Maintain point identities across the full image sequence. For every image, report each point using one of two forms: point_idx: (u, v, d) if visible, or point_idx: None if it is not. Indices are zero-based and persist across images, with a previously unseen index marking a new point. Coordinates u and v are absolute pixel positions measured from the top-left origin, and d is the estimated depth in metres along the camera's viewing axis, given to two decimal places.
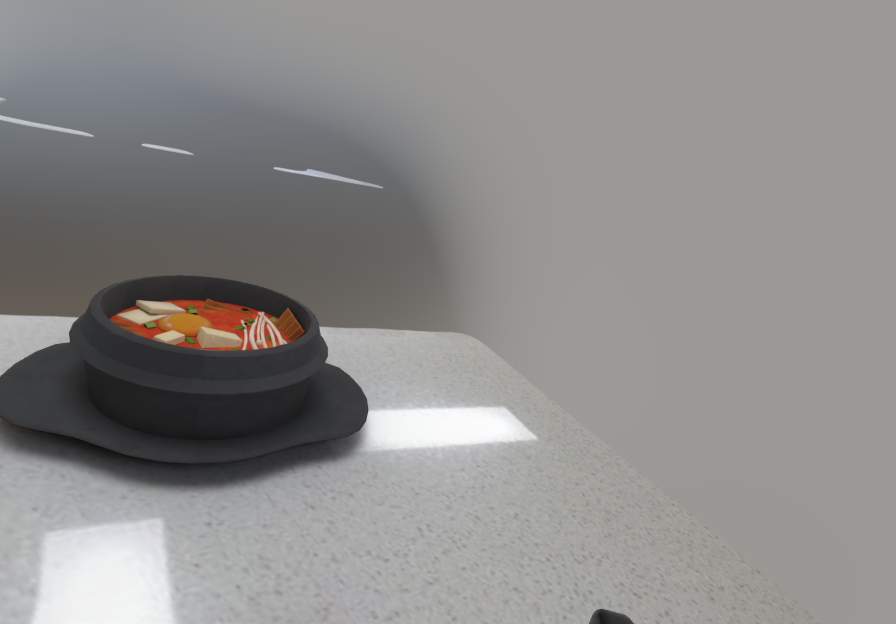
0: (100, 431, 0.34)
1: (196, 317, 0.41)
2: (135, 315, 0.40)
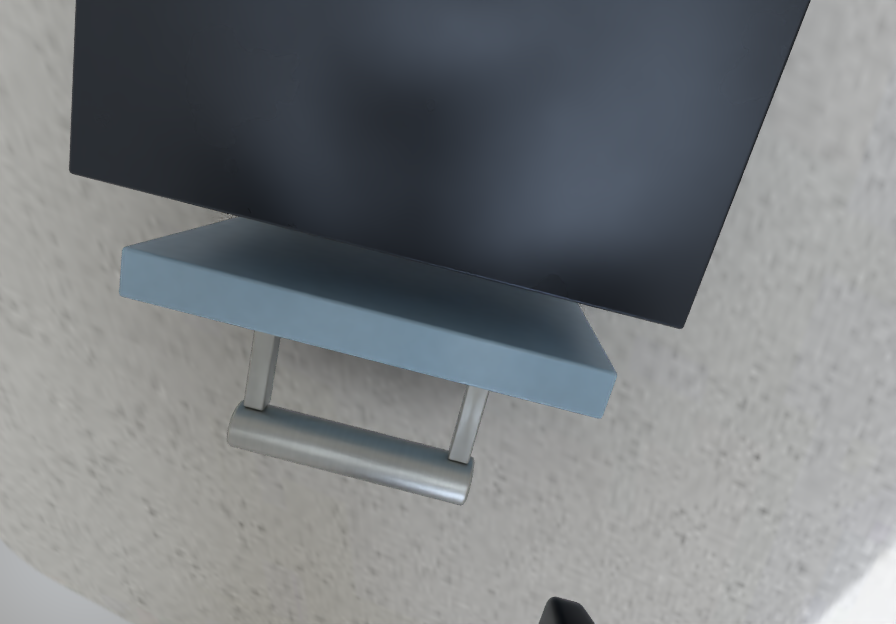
0: None
1: None
2: None
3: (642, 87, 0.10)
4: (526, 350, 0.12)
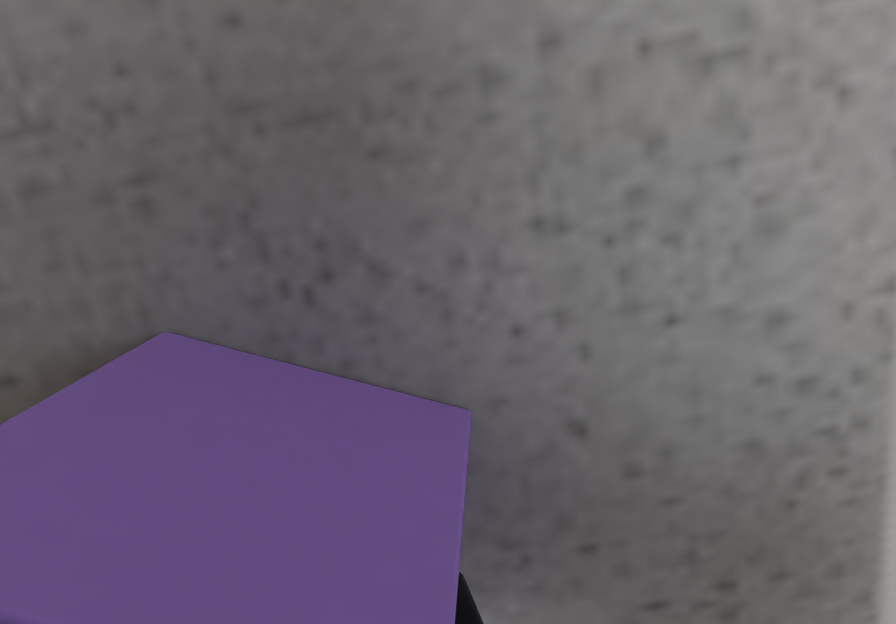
0: None
1: None
2: None
3: None
4: None
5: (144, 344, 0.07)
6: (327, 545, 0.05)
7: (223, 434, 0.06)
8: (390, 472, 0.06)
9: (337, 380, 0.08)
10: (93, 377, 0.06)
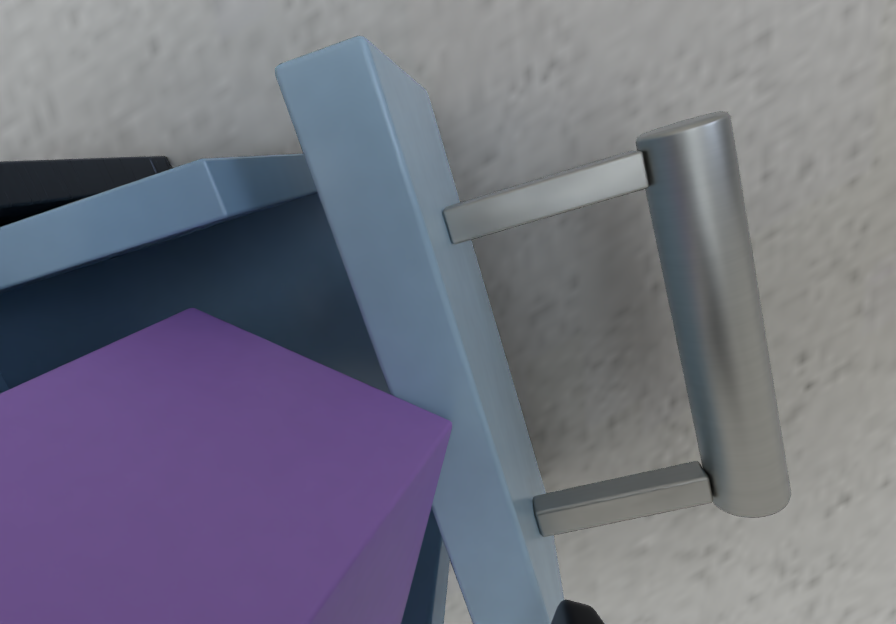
0: None
1: None
2: None
3: None
4: (333, 234, 0.07)
5: (164, 321, 0.08)
6: (202, 557, 0.05)
7: (178, 422, 0.06)
8: (315, 484, 0.06)
9: (327, 372, 0.08)
10: (102, 351, 0.07)
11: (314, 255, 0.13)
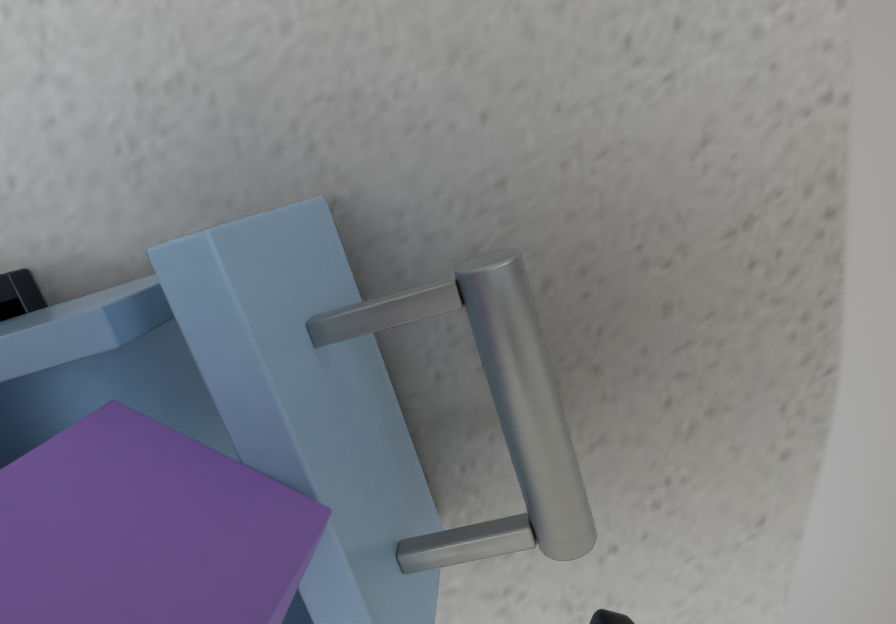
0: None
1: None
2: None
3: None
4: (196, 364, 0.10)
5: (92, 415, 0.10)
6: None
7: (121, 517, 0.08)
8: (234, 567, 0.08)
9: (235, 465, 0.10)
10: (44, 448, 0.09)
11: None
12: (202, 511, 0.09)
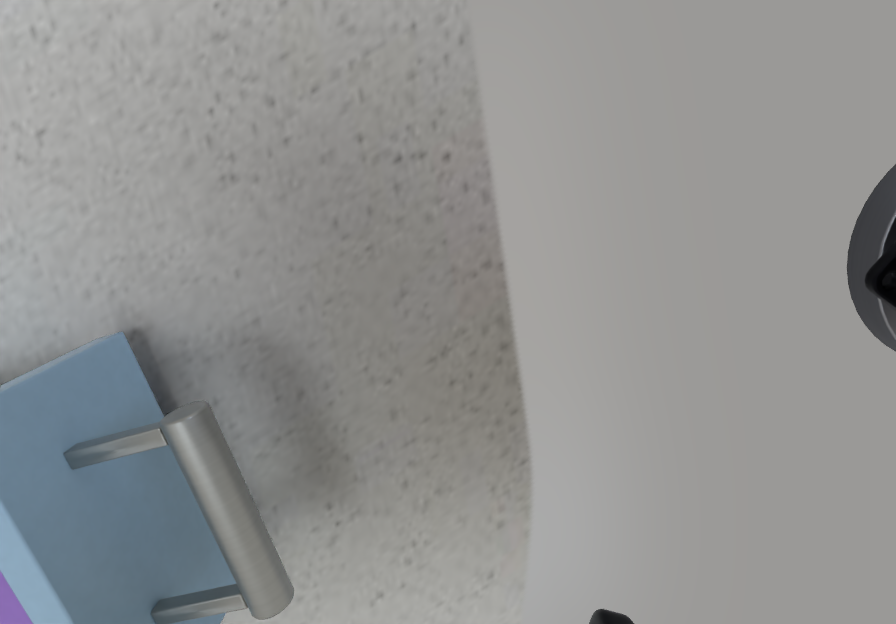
0: None
1: None
2: None
3: None
4: None
5: None
6: None
7: None
8: None
9: None
10: None
11: None
12: None
